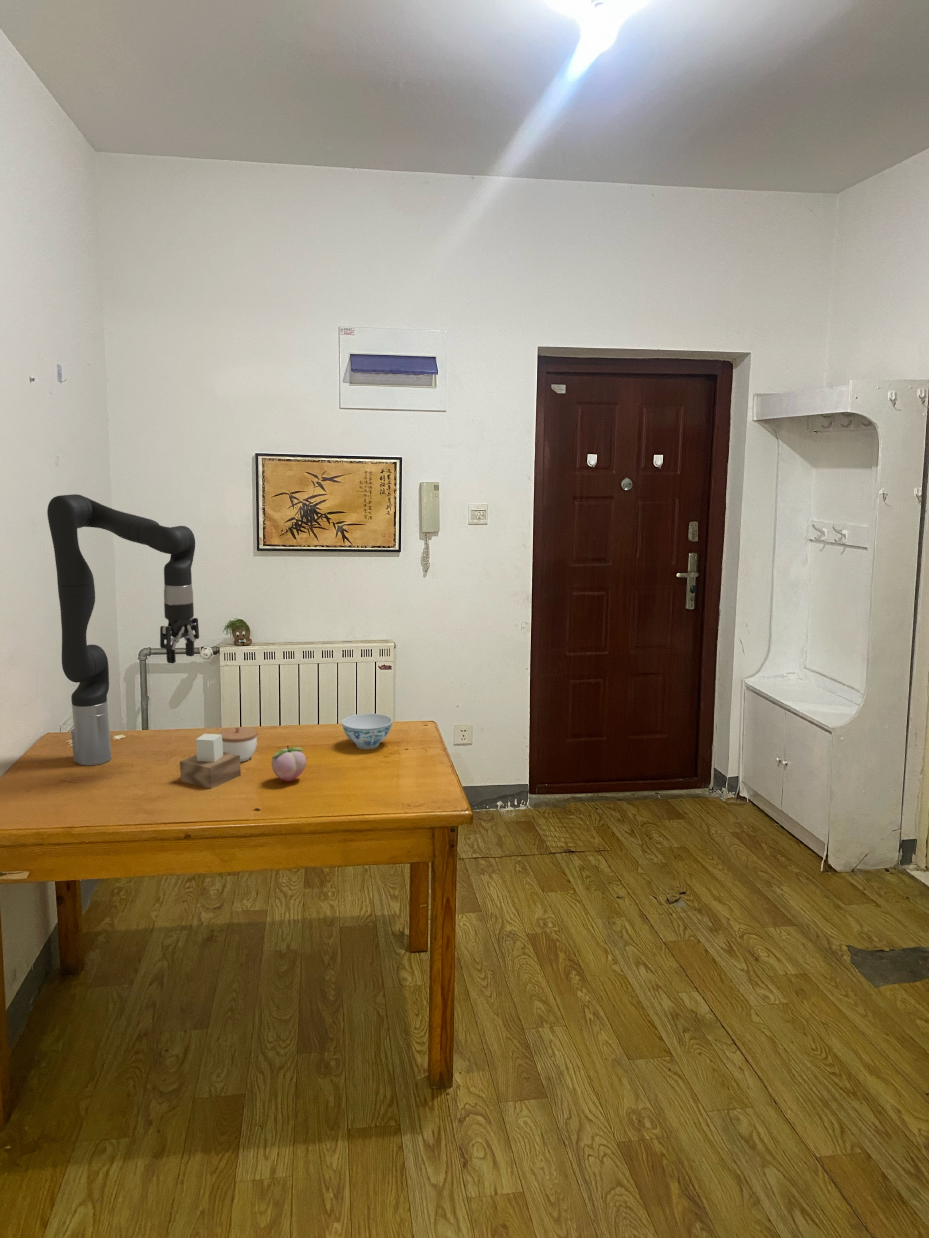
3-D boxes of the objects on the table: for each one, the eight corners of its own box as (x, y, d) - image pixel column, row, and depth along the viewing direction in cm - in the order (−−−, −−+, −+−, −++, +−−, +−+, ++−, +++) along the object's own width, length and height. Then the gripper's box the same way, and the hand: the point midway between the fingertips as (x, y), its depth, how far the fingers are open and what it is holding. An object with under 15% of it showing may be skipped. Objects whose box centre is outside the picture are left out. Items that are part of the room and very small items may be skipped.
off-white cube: (197, 760, 238) (195, 739, 237) (206, 754, 243) (204, 733, 241) (214, 762, 237) (213, 740, 236) (223, 755, 242) (221, 734, 240)
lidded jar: (248, 766, 250) (246, 734, 248) (213, 763, 252) (211, 731, 250) (264, 753, 260) (262, 722, 258) (230, 751, 262) (228, 720, 260)
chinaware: (390, 753, 260) (389, 728, 258) (338, 753, 260) (338, 728, 258) (395, 737, 274) (394, 713, 273) (346, 737, 275) (345, 713, 273)
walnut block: (181, 782, 239) (179, 761, 238) (210, 769, 248) (209, 749, 247) (211, 789, 233) (210, 767, 232) (240, 776, 243) (239, 755, 242)
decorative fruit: (294, 772, 245) (293, 737, 243) (312, 780, 239) (310, 744, 237) (265, 781, 238) (263, 745, 236) (282, 789, 232) (280, 753, 231)
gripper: (182, 595, 248) (184, 652, 251) (150, 604, 234) (152, 664, 237) (205, 597, 245) (207, 655, 249) (174, 606, 232) (177, 666, 235)
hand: (180, 659), depth 243 cm, fingers open, 8 cm apart
